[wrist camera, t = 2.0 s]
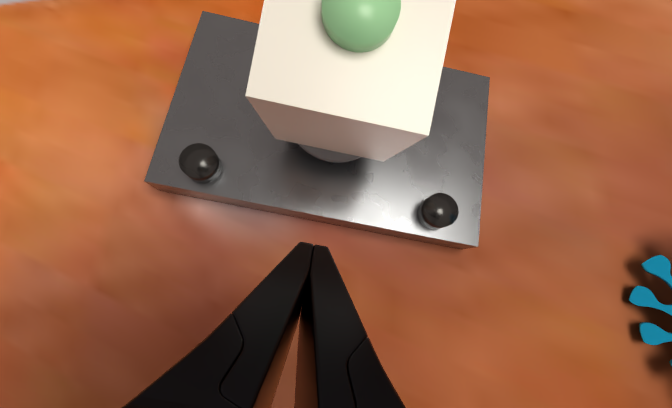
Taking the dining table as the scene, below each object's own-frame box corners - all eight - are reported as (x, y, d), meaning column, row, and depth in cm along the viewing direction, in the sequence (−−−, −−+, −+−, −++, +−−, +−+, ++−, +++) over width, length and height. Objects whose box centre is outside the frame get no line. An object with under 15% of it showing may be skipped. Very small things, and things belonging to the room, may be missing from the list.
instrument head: (378, 172, 18) (432, 147, 10) (275, 150, 18) (237, 105, 9) (410, 11, 18) (493, -158, 10) (308, -14, 18) (300, -212, 9)
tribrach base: (461, 249, 21) (489, 244, 18) (159, 190, 20) (133, 174, 17) (474, 93, 24) (500, 66, 21) (211, 33, 23) (196, -5, 19)
